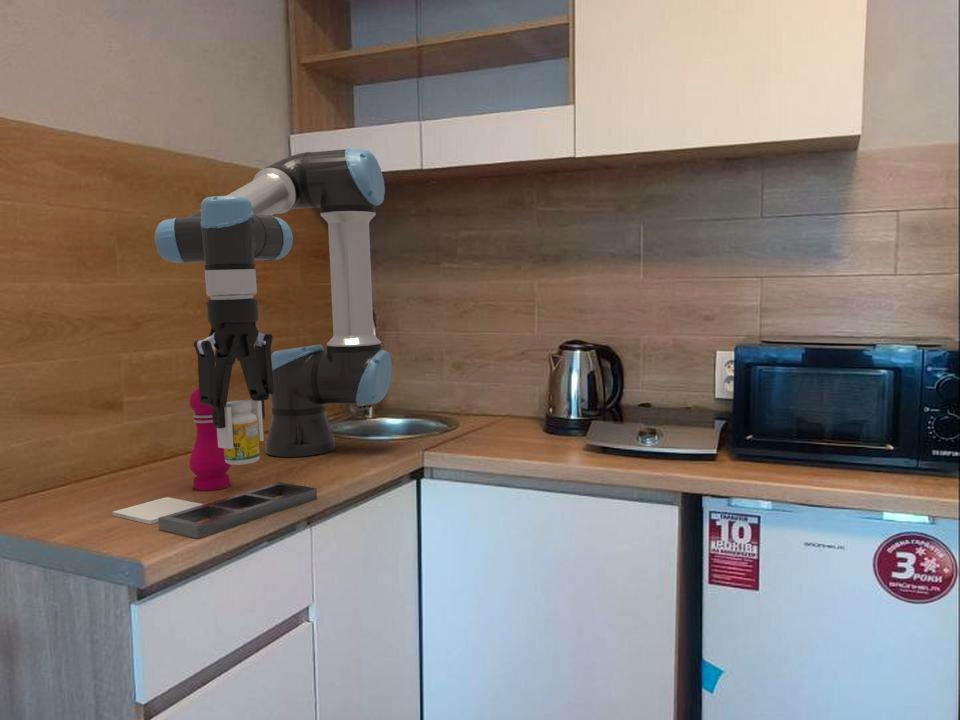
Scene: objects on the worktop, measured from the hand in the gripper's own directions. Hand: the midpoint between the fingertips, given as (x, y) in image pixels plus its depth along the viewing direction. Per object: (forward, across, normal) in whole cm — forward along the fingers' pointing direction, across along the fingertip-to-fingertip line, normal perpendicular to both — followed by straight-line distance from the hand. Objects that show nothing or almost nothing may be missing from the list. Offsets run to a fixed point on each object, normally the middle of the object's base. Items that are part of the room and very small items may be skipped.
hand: (241, 443), depth 122 cm
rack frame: (+11, +1, 0) cm, 11 cm away
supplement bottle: (+3, 0, 0) cm, 3 cm away
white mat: (+11, +7, -13) cm, 18 cm away
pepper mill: (+12, -8, -19) cm, 24 cm away
